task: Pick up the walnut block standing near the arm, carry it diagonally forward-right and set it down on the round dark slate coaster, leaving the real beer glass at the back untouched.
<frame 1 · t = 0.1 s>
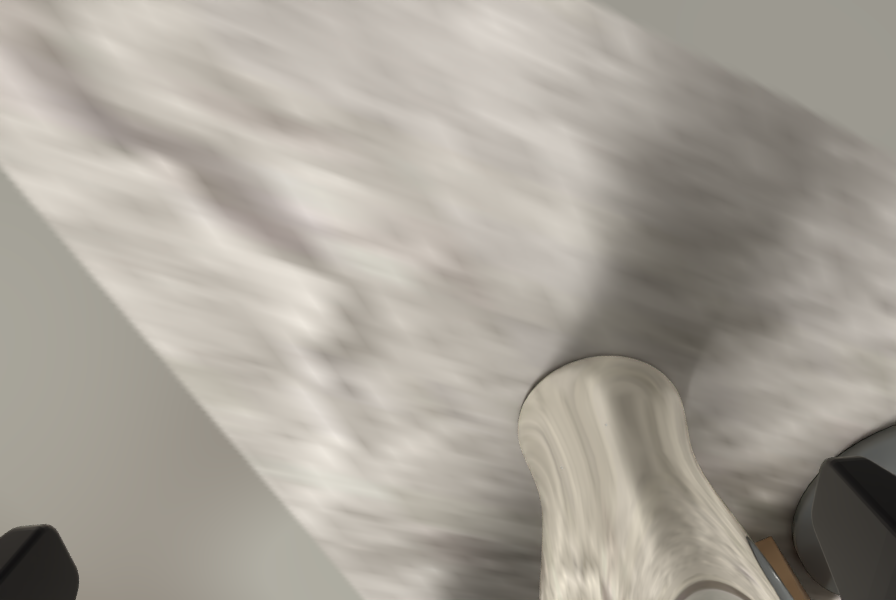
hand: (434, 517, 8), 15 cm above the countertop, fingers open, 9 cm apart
beer glass: (597, 418, 27), on the countertop
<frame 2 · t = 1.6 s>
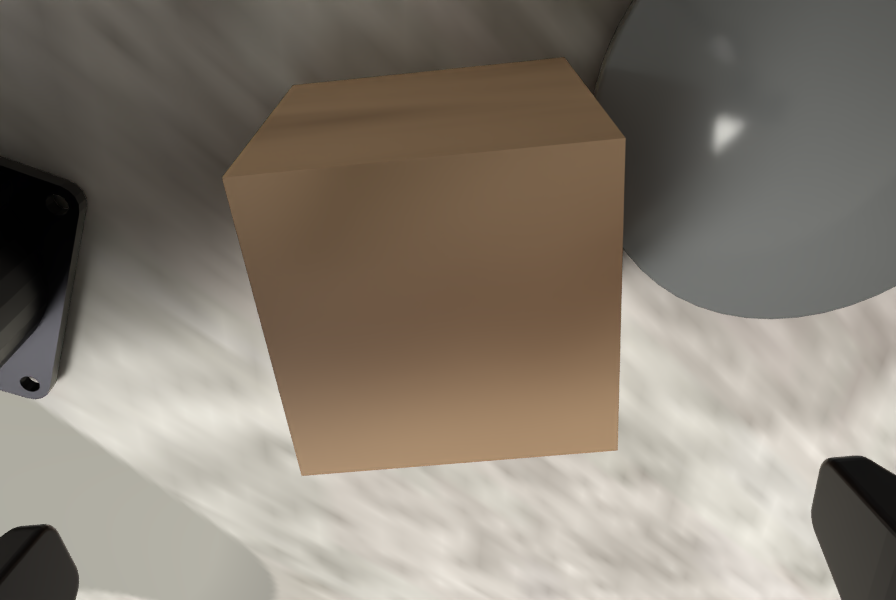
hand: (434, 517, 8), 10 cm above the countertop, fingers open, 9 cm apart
walnut block: (441, 197, 17), on the countertop
slate coaster: (809, 117, 16), on the countertop
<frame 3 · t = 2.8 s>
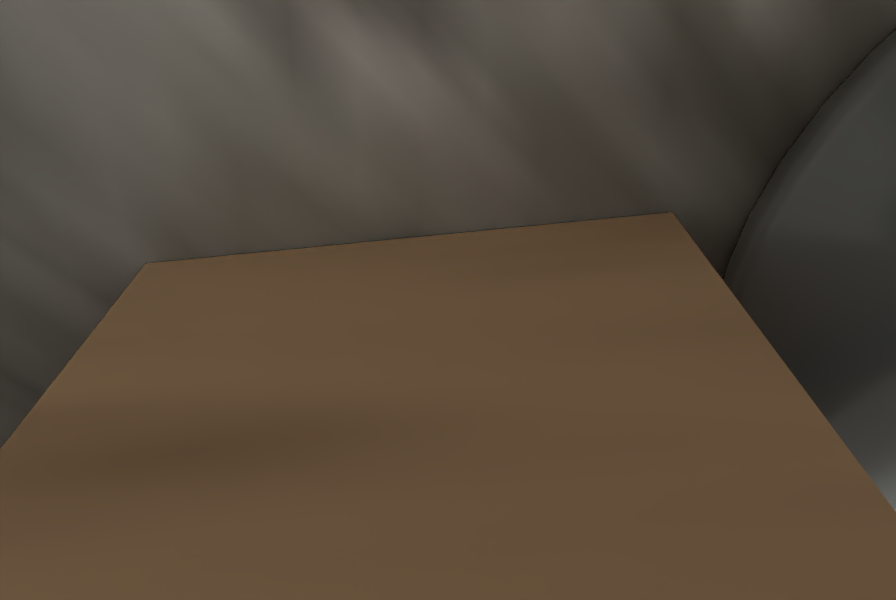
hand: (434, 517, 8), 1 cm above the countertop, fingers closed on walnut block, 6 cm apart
walnut block: (434, 441, 10), on the countertop, touching gripper
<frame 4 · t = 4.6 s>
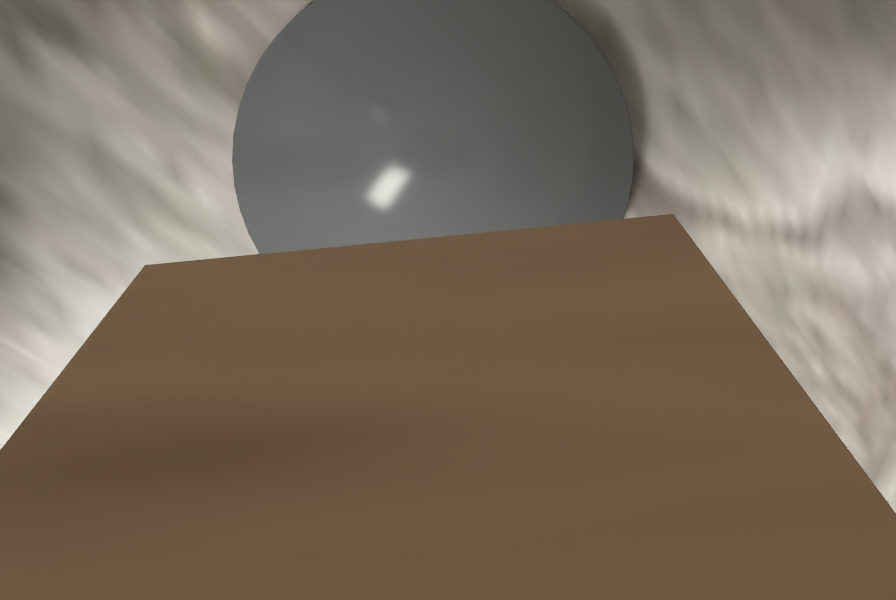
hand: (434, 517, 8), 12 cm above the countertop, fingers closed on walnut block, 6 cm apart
walnut block: (434, 443, 10), point 10 cm above the countertop, touching gripper
slate coaster: (434, 175, 18), on the countertop
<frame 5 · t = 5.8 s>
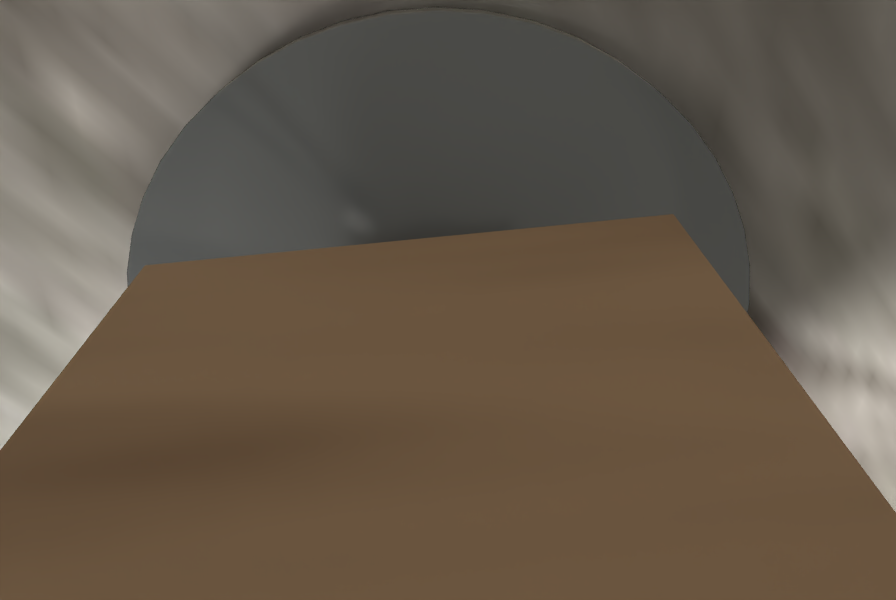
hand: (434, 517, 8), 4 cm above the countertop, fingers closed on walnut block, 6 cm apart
walnut block: (434, 443, 10), point 3 cm above the countertop, touching gripper
slate coaster: (440, 319, 12), on the countertop
when the fingers open (3 cm above the countertop, at t = 6.5 s): walnut block drops 1 cm, resting on slate coaster.
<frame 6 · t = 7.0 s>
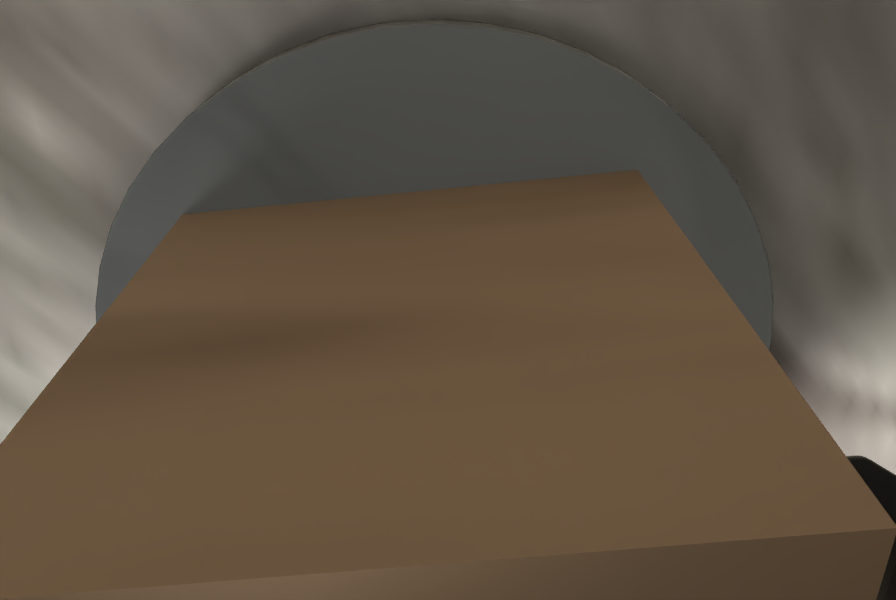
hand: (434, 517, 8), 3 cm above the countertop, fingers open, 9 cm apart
walnut block: (432, 377, 11), point 1 cm above the countertop, touching slate coaster
slate coaster: (436, 354, 11), on the countertop
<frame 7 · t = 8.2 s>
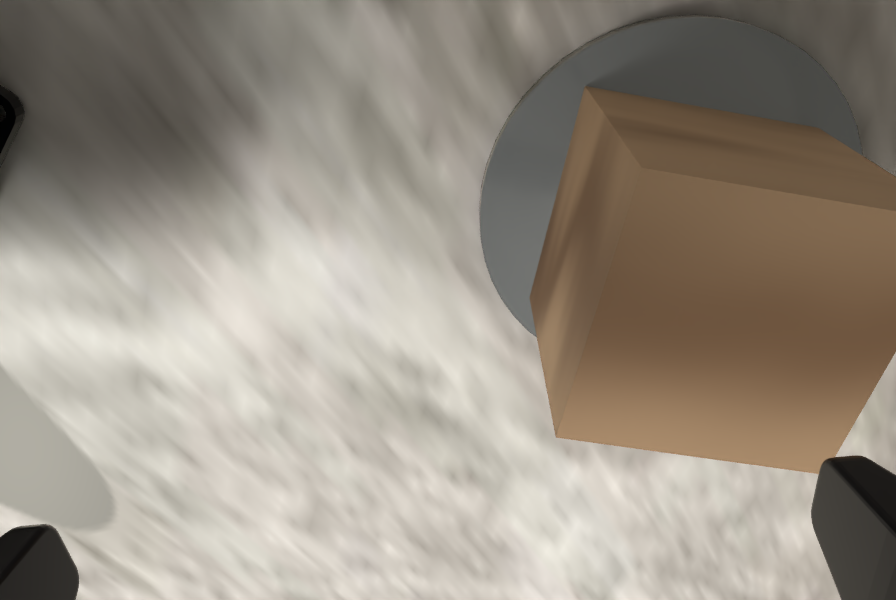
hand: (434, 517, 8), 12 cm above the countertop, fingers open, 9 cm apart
walnut block: (664, 218, 19), point 1 cm above the countertop, touching slate coaster
slate coaster: (661, 209, 20), on the countertop
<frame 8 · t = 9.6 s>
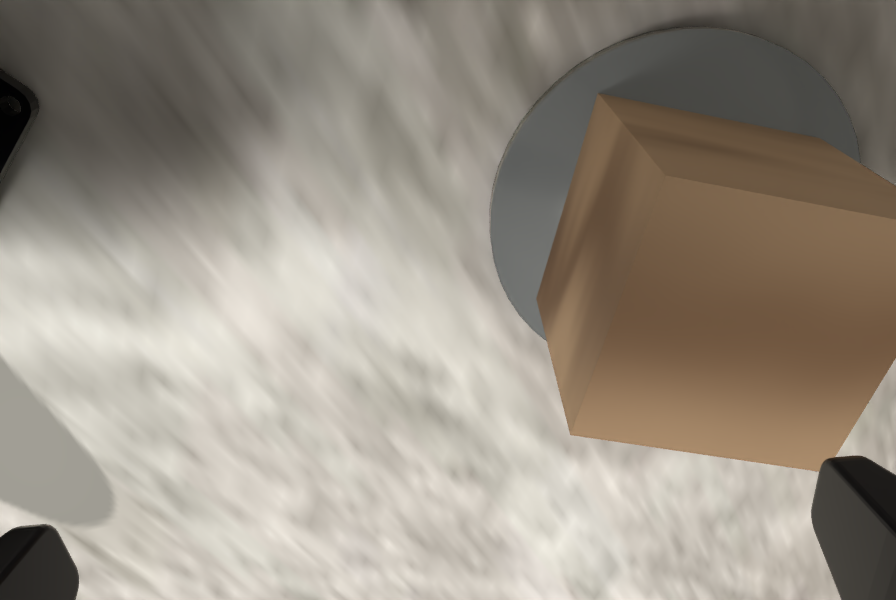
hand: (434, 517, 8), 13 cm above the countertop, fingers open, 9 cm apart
walnut block: (669, 222, 20), point 1 cm above the countertop, touching slate coaster
slate coaster: (666, 214, 20), on the countertop
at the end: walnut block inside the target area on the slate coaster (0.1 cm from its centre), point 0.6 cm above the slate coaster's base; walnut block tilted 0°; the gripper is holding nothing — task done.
